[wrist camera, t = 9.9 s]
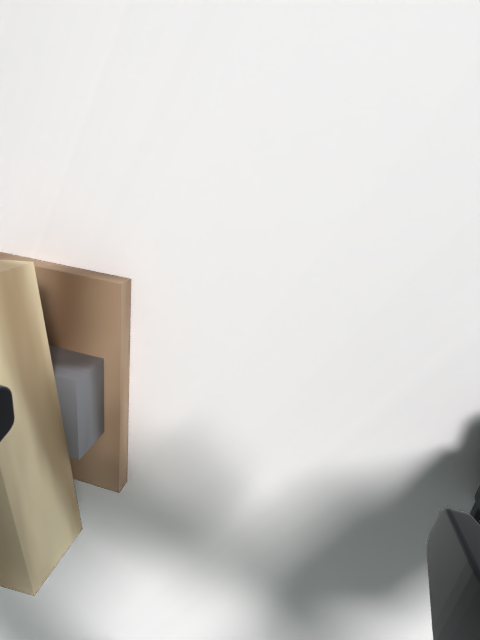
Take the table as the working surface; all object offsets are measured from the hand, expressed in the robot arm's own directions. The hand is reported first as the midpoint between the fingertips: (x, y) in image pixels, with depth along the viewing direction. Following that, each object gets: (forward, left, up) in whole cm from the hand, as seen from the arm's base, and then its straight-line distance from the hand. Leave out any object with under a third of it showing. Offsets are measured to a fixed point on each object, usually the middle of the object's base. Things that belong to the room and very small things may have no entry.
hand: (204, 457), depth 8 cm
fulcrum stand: (+12, +8, -12) cm, 19 cm away
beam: (+12, +8, -8) cm, 17 cm away
